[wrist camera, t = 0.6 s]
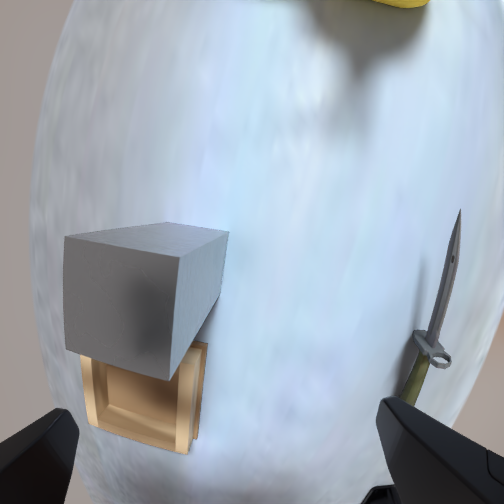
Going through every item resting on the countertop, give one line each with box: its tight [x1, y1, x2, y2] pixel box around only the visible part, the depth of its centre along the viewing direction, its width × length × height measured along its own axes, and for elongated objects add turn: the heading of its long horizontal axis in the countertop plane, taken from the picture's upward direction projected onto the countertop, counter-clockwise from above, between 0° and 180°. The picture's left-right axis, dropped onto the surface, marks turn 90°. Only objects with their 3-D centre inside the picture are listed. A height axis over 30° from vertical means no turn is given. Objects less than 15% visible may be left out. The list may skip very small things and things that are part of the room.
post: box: [63, 222, 229, 381], centre depth 15 cm, size 4×4×12 cm
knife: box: [400, 209, 461, 407], centre depth 19 cm, size 19×2×5 cm, turn 176°
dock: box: [80, 341, 208, 454], centre depth 21 cm, size 10×10×3 cm
